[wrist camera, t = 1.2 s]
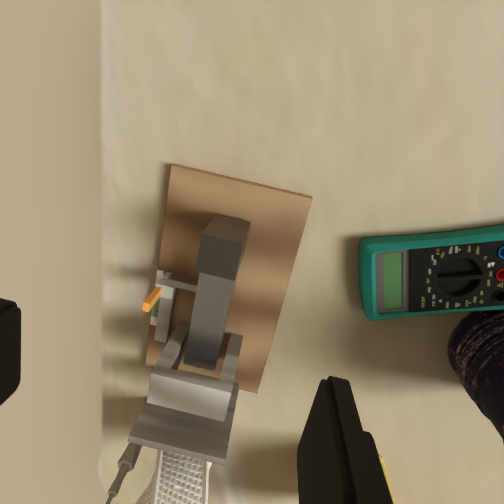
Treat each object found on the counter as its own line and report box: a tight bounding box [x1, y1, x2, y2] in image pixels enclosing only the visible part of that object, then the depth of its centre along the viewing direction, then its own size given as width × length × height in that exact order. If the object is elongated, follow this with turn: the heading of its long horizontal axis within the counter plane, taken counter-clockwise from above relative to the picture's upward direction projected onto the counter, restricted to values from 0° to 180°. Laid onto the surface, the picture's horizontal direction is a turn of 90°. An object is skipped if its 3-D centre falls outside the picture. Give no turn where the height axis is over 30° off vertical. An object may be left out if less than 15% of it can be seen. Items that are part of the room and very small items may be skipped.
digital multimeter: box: [359, 225, 504, 321], centre depth 31 cm, size 7×15×3 cm, turn 98°
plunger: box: [167, 214, 251, 371], centre depth 30 cm, size 13×6×6 cm, turn 167°
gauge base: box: [128, 164, 312, 466], centre depth 30 cm, size 21×12×10 cm, turn 167°
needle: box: [143, 279, 176, 312], centre depth 31 cm, size 1×2×4 cm
